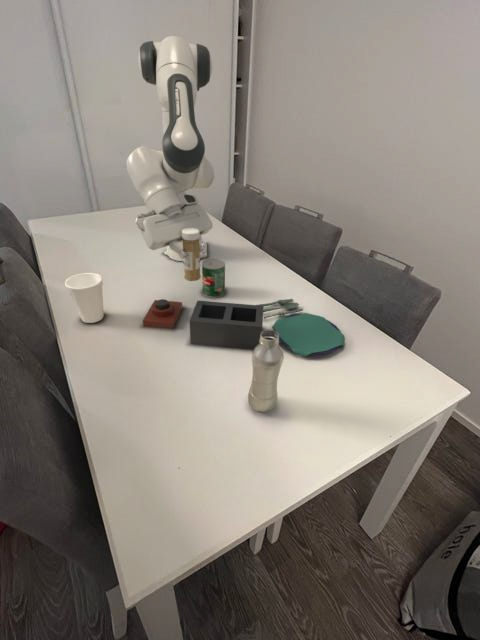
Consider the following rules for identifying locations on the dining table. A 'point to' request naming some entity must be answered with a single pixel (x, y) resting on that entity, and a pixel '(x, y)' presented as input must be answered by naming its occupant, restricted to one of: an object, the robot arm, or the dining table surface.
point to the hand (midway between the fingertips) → (193, 254)
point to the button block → (163, 315)
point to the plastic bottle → (265, 371)
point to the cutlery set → (305, 331)
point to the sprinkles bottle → (191, 253)
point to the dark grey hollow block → (226, 324)
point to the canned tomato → (213, 277)
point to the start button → (162, 304)
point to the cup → (87, 295)
